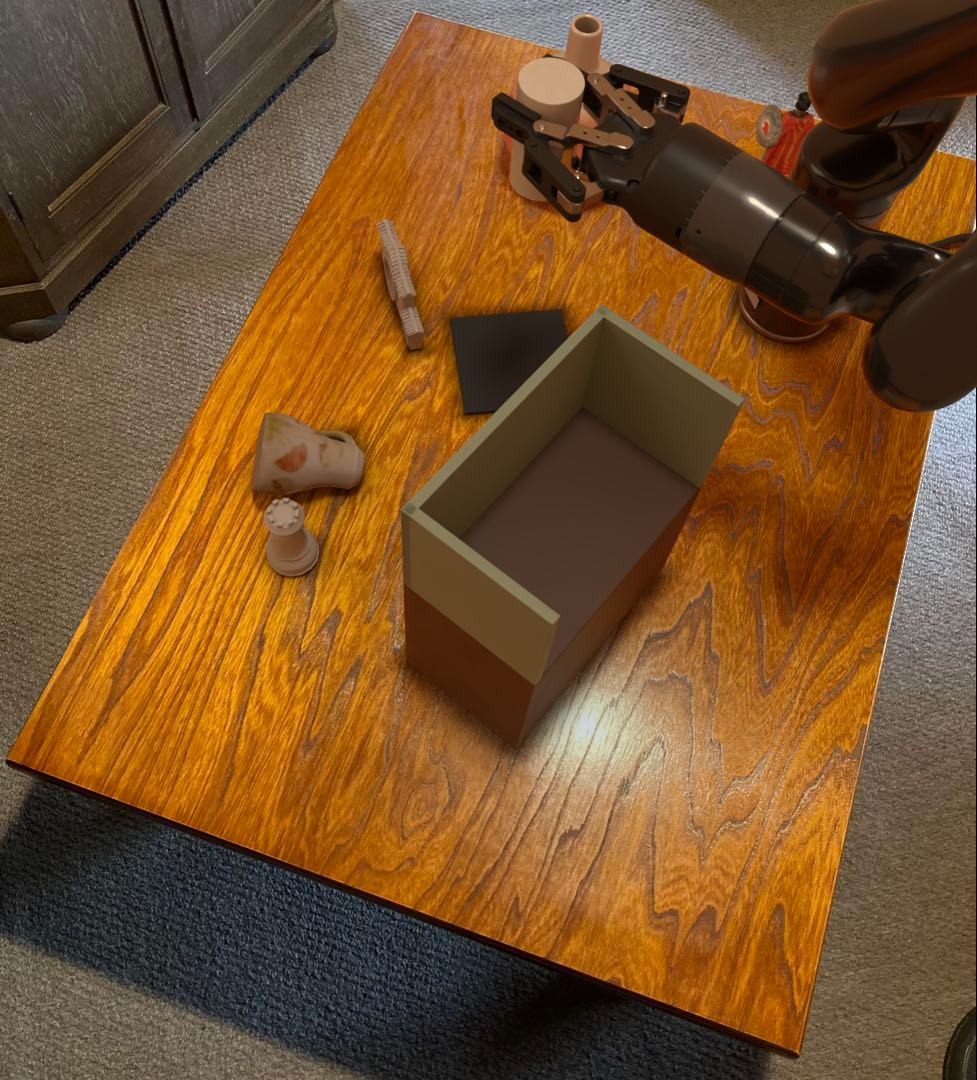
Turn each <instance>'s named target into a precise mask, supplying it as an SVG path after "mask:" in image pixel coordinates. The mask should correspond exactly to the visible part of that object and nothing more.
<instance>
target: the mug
mask: <svg viewBox="0 0 977 1080" xmlns="http://www.w3.org/2000/svg"><path fill="white" fill-rule="evenodd" d="M340 440H341V441H340ZM365 461H366V458H365V454H364V451H363V450H362V449H361V448H360V447H359V446H358V445H357V444H356V441H355V439H353V437H352V436H351V435H350V434H348V433H346V432H345V431H343V430H337V429H331V430H330V429H322V430H321V429H315V428H313V427H312V426H310V425H308V424H306V423H305V422H303V421H302V420H300V419H298V418H296V417H294V416H292V415H289V414H285V413H280V412H265V413H263V416H262V419H261V423H260V427H259V432H258V437H257V442H256V447H255V454H254V461H253V467H252V475H251V490H252V491H254V492H256V493H260V494H263V495H267V496H285V495H291V494H297V493H299V492H304V491H308V490H311V489H316V488H325V487H326V488H327V487H328V488H339V489H345V490H350V489H352V488H353V487H355V486H357V485H358V484H359V483H360V482H361V479H362V477H363V474H364V470H365V463H366V462H365Z"/></svg>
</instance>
